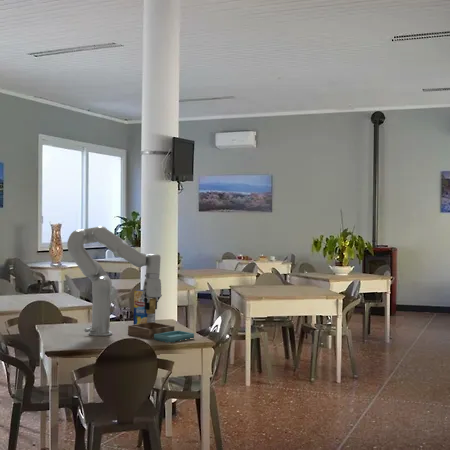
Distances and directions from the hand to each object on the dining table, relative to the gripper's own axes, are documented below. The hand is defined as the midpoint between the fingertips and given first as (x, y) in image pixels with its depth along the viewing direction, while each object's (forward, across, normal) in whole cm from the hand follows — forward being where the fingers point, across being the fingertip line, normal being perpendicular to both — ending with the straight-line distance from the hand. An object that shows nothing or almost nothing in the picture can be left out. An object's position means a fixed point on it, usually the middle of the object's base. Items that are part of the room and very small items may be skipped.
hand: (150, 309), depth 351 cm
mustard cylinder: (+2, 0, 0) cm, 2 cm away
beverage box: (+15, +13, +18) cm, 27 cm away
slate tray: (+14, +1, -19) cm, 23 cm away
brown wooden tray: (+14, +1, -1) cm, 14 cm away
